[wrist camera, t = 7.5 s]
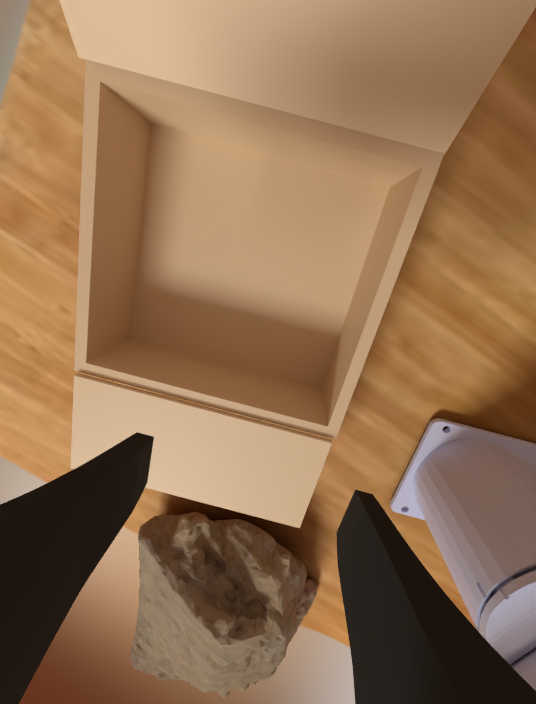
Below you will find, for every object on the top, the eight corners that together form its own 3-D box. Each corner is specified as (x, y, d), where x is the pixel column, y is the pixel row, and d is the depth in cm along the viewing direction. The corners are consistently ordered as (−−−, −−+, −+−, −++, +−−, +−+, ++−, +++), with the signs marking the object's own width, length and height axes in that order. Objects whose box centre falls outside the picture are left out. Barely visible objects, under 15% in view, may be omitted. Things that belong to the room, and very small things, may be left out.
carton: (402, 179, 16) (448, 150, 11) (301, 467, 23) (302, 529, 18) (145, 112, 16) (80, 53, 11) (117, 418, 23) (67, 467, 18)
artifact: (335, 509, 25) (157, 469, 26) (349, 603, 18) (102, 543, 19) (293, 668, 30) (143, 629, 31) (290, 794, 22) (94, 738, 23)
